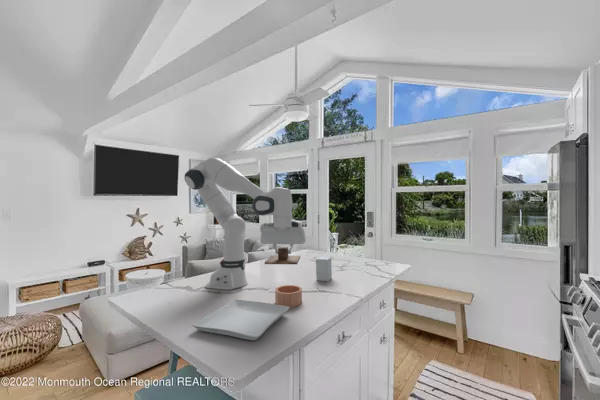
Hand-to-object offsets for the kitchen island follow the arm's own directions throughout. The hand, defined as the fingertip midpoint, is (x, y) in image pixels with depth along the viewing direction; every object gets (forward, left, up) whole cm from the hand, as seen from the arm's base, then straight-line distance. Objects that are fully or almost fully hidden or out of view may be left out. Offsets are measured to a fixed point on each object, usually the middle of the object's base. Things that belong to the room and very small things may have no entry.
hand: (283, 253), depth 128 cm
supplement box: (+18, +40, -23) cm, 50 cm away
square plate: (-13, -19, -24) cm, 33 cm away
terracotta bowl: (+2, +3, -23) cm, 23 cm away
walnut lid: (0, 0, -3) cm, 3 cm away
